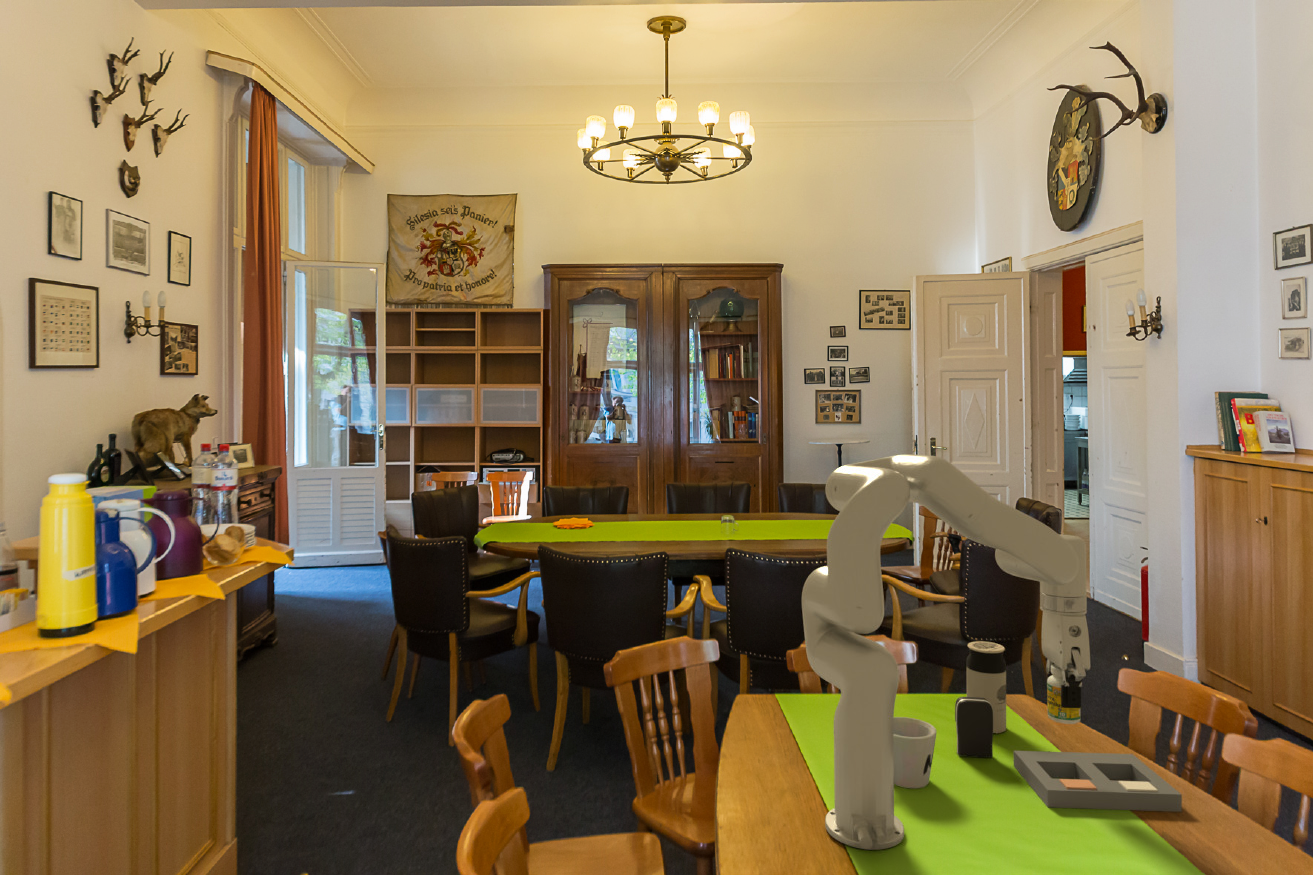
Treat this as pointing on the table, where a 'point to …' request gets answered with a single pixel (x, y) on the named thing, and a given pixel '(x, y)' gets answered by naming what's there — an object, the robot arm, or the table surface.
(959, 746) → the battery charger
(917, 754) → the mug
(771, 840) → the table surface
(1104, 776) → the socket board
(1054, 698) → the supplement bottle
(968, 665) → the travel mug
